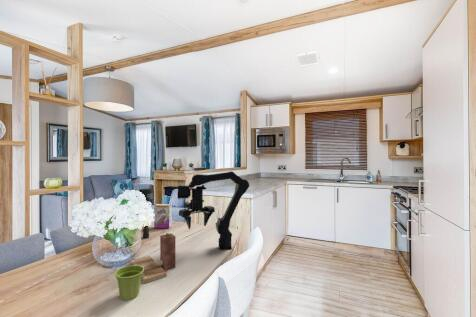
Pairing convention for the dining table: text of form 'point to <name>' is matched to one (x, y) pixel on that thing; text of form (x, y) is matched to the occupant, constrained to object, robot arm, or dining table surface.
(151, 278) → the board
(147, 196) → the stick grenade
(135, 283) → the plant pot
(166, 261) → the upright wooden block
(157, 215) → the candy bar box
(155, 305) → the dining table surface
